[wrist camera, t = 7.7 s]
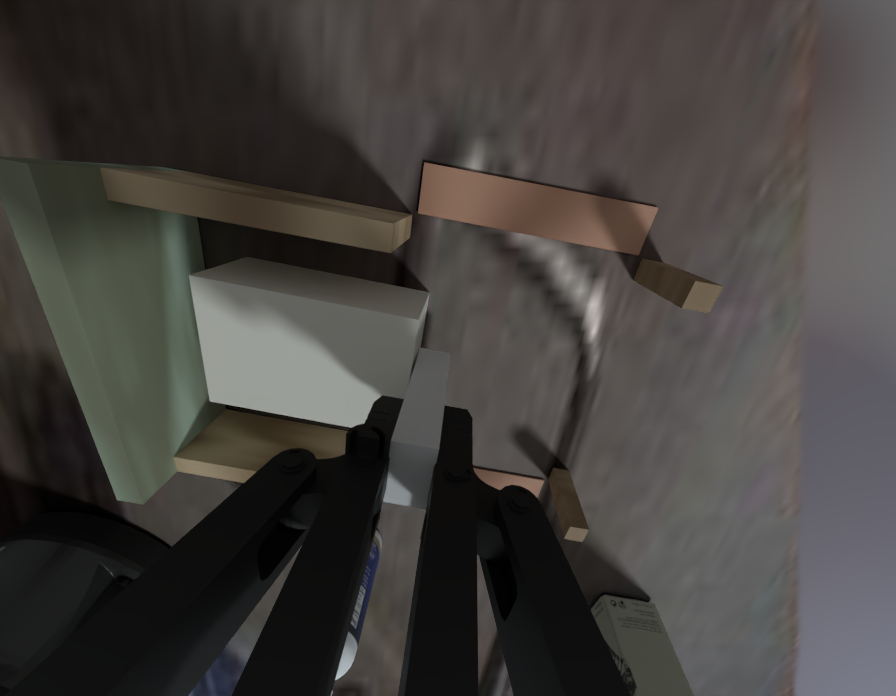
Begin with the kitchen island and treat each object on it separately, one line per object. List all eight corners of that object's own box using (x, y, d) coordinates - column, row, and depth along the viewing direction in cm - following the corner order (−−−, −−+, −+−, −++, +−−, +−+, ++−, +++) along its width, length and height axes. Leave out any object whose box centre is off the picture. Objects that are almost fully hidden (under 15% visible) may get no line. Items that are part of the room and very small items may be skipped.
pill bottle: (354, 566, 27) (296, 754, 18) (298, 532, 25) (205, 717, 16) (398, 538, 25) (358, 731, 16) (340, 499, 23) (261, 688, 15)
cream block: (259, 360, 19) (209, 401, 16) (250, 255, 16) (188, 275, 13) (414, 390, 19) (400, 437, 16) (430, 290, 17) (418, 319, 13)
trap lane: (213, 444, 22) (128, 529, 16) (152, 109, 14) (-53, 60, 8) (553, 504, 22) (579, 606, 17) (686, 213, 14) (818, 229, 9)
